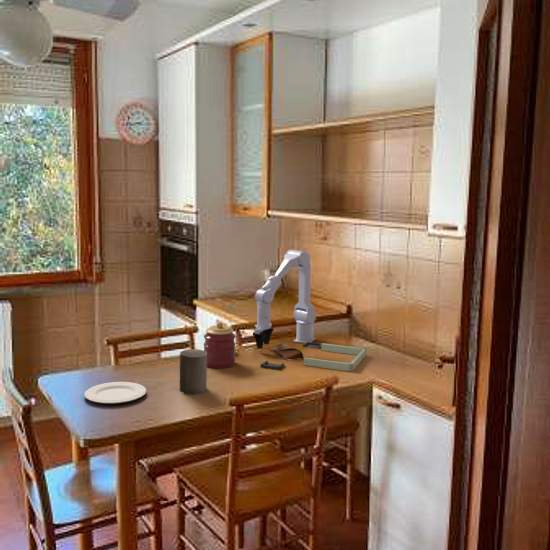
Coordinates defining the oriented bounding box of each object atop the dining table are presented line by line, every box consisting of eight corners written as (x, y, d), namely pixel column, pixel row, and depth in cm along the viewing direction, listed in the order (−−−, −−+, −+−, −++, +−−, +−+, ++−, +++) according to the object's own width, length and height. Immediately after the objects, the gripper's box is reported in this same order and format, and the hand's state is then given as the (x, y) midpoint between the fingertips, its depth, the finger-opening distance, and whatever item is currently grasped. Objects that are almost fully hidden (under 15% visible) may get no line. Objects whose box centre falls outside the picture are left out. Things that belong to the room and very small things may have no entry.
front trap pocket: (266, 363, 251) (266, 360, 251) (284, 365, 248) (284, 363, 248) (260, 367, 246) (260, 364, 245) (279, 370, 243) (279, 367, 243)
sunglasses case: (266, 349, 271) (273, 336, 272) (278, 355, 275) (285, 342, 275) (286, 360, 255) (293, 346, 256) (298, 367, 259) (305, 353, 259)
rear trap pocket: (306, 344, 281) (306, 341, 281) (323, 346, 278) (323, 343, 278) (303, 347, 277) (303, 344, 276) (319, 349, 274) (320, 346, 274)
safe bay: (321, 349, 273) (322, 343, 273) (366, 355, 266) (366, 348, 265) (303, 365, 250) (304, 358, 249) (351, 371, 243) (352, 364, 242)
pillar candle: (176, 393, 214) (177, 352, 212) (182, 384, 224) (183, 344, 221) (204, 395, 214) (204, 353, 211) (208, 385, 223) (209, 346, 221)
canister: (215, 371, 240) (215, 327, 237) (197, 363, 249) (197, 321, 247) (241, 365, 248) (242, 322, 245) (223, 357, 258) (223, 316, 255)
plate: (75, 393, 212) (75, 388, 212) (131, 382, 225) (131, 377, 224) (98, 412, 196) (97, 407, 196) (156, 399, 208) (156, 394, 208)
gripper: (261, 312, 275) (261, 341, 278) (248, 318, 262) (248, 349, 264) (276, 313, 273) (275, 343, 275) (263, 320, 260) (263, 351, 262)
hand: (263, 346), depth 269 cm, fingers open, 7 cm apart
